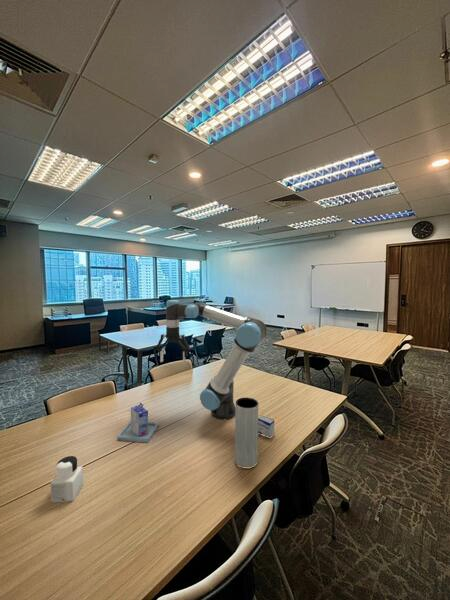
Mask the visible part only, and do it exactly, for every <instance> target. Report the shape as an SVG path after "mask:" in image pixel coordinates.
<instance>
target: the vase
mask: <svg viewBox="0 0 450 600" xmlns="http://www.w3.org/2000/svg"><path fill="white" fill-rule="evenodd" d="M234 405H235V416H234V417H235V418H234V419H235V421H234V463H235V462H236V463H237V465H239V466H241V467H252V466H254V465H255V464H256V463H257V464H258V447H259V446H258V444H259V434H258V418H259V402H258V400H256V399H255V398H252V397H240V398H238V399H237V400H235V403H234ZM236 463H235V464H236ZM237 465H236V466H237Z"/></svg>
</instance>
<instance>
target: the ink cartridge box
mask: <svg viewBox="0 0 450 600" xmlns="http://www.w3.org/2000/svg"><path fill="white" fill-rule="evenodd" d="M130 421H131V430H132V431H133V432H134V433H135V434H136V435H137V436H138V437H140V436H143V435H146V434H148V422H149V410H148V409H146V408H145V407H144V404H143V403H142V402H140V403H139V404H137V405H134V406H132V407H130Z"/></svg>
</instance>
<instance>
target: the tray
mask: <svg viewBox="0 0 450 600" xmlns="http://www.w3.org/2000/svg"><path fill="white" fill-rule="evenodd" d="M158 428H159V422H151V421H148V434H146V435H143V436H140V437H138V436H137V435H136V434H135V433H134V432H133V431H132V430H131V420H130V421H129V422H128V423H127V424H126V426H125V427H124V428H123V429H122V430H121V432H119V433H118V435H117V437H116V438H117V439H116V440H117V441H121V442H134V443H135V442H136V443H149V442H150V441H151V439H152V438H153V436H154V434H155V433H156V431H157V430H158Z"/></svg>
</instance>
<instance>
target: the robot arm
mask: <svg viewBox="0 0 450 600" xmlns="http://www.w3.org/2000/svg"><path fill="white" fill-rule="evenodd" d="M165 313H166V316H165V317H166V318H165V319H166V321H165V322H166V323H165V325H166V327H165V330H166V332H165V334H164V333H162V334H161V335H160V337H159V338H160V339H159V341H158V343H157V344H156V347H155V350H156V351H158V357H160V359H159V362H160V363H162V362H164V350H163V349H164V348H165V346H166V345H167V344H168V343H176V344H178V347H179V346H180V348H181V349H182V363H183V364H185V363H186V358H187V356H188V352H189V351H190V350H191V347H190V345H189V343H188V341H187V340H186V336H185V334H180V318H186V319H187V318H189V319H195V318H197V317H198V316H200V317H202V318H205V319H208V320H211V321H212V322H213V321H214V322H217V323H220V324H222V325H224V326H228V327H230V328H234V329H237V330H236V333H235V337H234V339H233V343H234V345H233V346H232V348H231V350H230V351H229V353H228V355H227V357H226V359H225V361H224V362H223V364H222V365H221V366H220V369H219V371H218V372H217V374H216V375H214V377H213V378H211V379H210V381H209V382H208V383H207V386H206V387H205V388H204V389H203V390H202V391H201V392H200V395H199V400H200V404H201V405H202V406H203V407H204V408H205V409H206V410H208V411H210V415H211V416H212V417H213V418H214V419H217V420H224V419H226V420H230V418H231V419H233V418H234V417H235V402H234V378H235V377H236V375H237V374H238V372H239V370H240V368H242V365H243V364H244V362H245V360H246V359H247V358H248V355H249V354H252V353H253V352H254V351H255V349H256V348H257V346H258V345H259V344H260V342H261V341H262V340H264V339H265V337H266V336H267V333H268V329H267V325H266V324H265V322H264V321H262V320H261V319H257V318H255V317H250V316H246V317H244V316H242V315H239V314H235V313H233V312H229V311H226V310H223V309H219V308H217V307H214V306H211V305H208V304H206V303H205V302H202V301H201V302H194V303H187V304H186V303H185V304H184V303H183V304H181V303H180V301H179V300H178V299H169V300H167V301H166V303H165ZM165 338H166V340H165V341H164V343H163V344H162V342H163V340H164V339H165ZM180 339H181V340H182V341H181V340H180ZM182 342H183V343H182ZM232 417H233V418H232ZM224 421H225V420H224Z"/></svg>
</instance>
